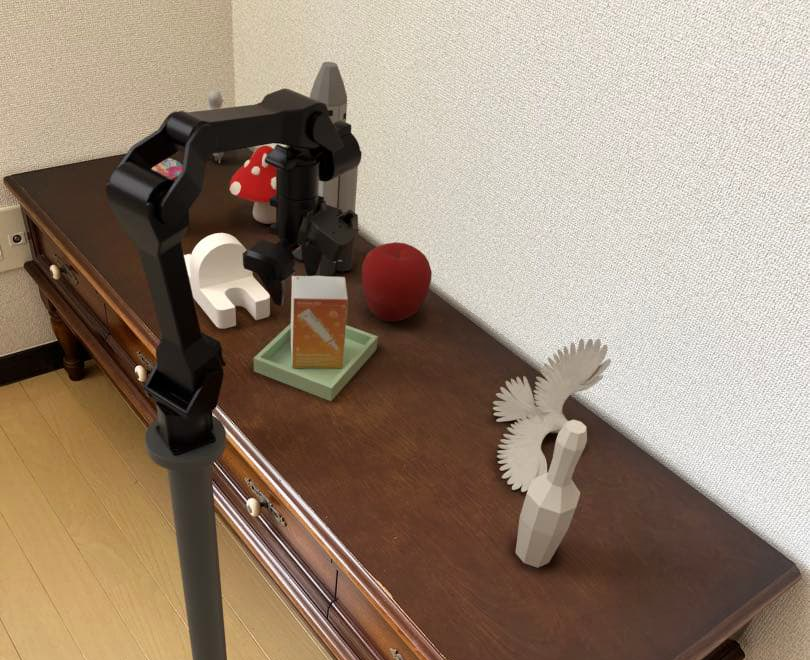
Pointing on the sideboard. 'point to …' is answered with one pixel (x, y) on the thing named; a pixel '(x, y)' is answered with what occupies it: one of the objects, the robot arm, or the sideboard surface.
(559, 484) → the low poly bottle
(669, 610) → the sideboard surface
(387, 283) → the apple
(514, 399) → the bird
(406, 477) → the sideboard surface
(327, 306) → the small box
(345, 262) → the toy rocket
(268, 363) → the tray
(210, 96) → the figurine
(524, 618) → the sideboard surface
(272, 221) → the decorative mushroom
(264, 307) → the white slotted holder
